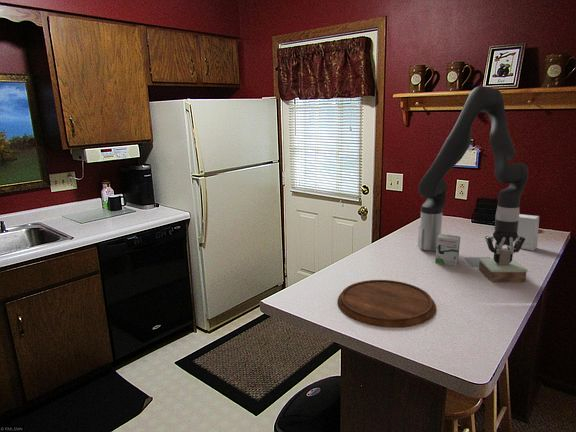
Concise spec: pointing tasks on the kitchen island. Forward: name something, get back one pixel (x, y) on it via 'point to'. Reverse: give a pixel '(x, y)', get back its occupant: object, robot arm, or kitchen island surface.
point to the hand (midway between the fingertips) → (502, 262)
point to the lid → (503, 263)
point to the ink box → (447, 249)
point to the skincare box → (528, 231)
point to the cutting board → (386, 303)
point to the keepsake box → (502, 275)
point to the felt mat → (473, 260)
